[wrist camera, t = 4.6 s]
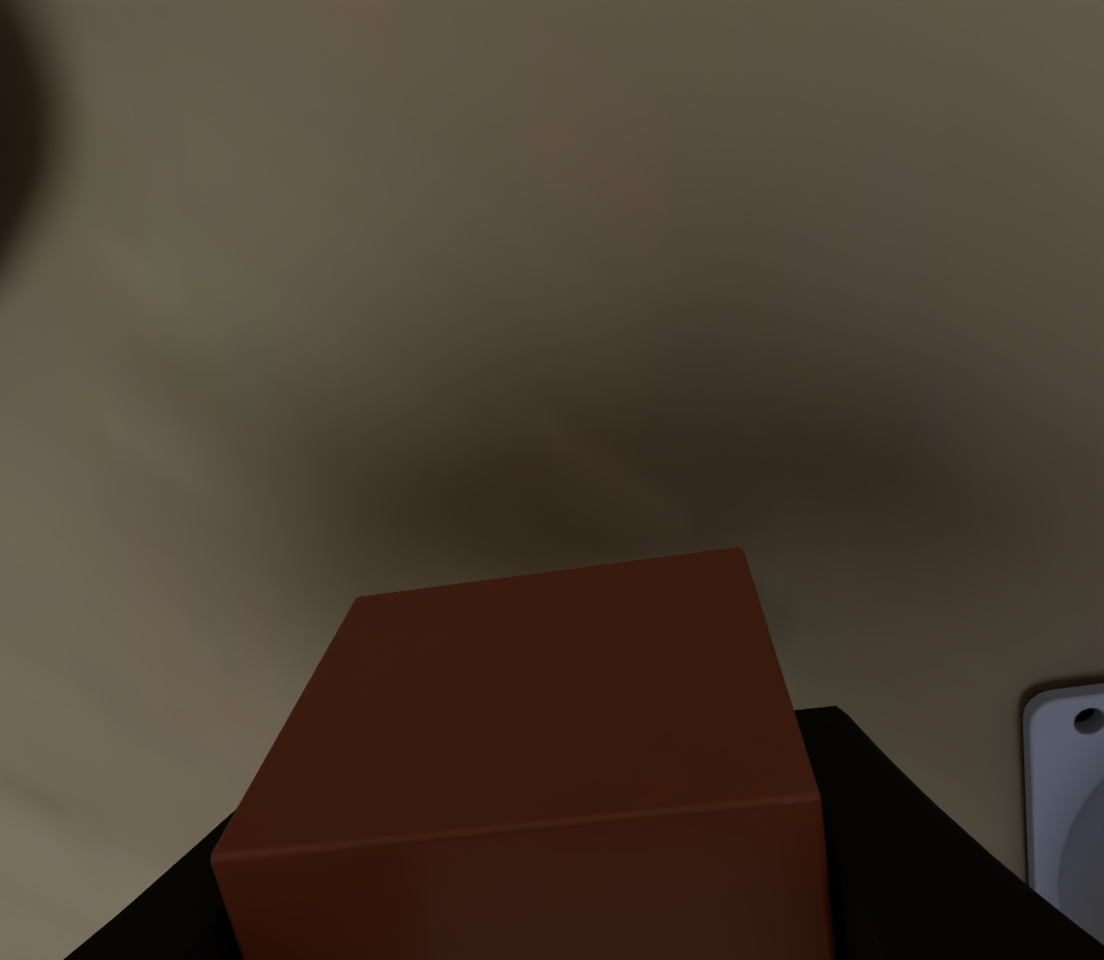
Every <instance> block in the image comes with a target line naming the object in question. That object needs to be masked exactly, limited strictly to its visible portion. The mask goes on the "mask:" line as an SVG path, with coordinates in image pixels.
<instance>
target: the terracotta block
mask: <svg viewBox="0 0 1104 960" xmlns="http://www.w3.org/2000/svg"><path fill="white" fill-rule="evenodd" d="M211 865H212V868H213V871H214V874H215V877H216V880H217V883H218V886H219V889H220V892H221V895H222V898H223V901H224V904H225V907H226V910H227V913H228V916H229V919H230V922H231V925H232V928H233V931H234V934H235V938H236V941H237V944H238V947H239V950H240V953H241V956H242V959H243V960H837V953H836V943H835V933H834V923H833V913H832V903H831V892H830V882H829V872H828V862H827V852H826V841H825V831H824V821H823V811H822V801H821V795H820V792H819V788H818V785H817V782H816V779H815V776H814V773H813V769H812V766H811V763H810V760H809V757H808V754H807V750H806V747H805V744H804V741H803V738H802V734H801V731H800V728H799V725H798V722H797V719H796V715H795V712H794V709H793V706H792V703H791V700H790V696H789V693H788V690H787V687H786V684H785V681H784V677H783V674H782V671H781V668H780V665H779V662H778V658H777V655H776V652H775V649H774V646H773V643H772V639H771V636H770V633H769V630H768V627H767V624H766V620H765V617H764V614H763V611H762V608H761V604H760V601H759V598H758V595H757V592H756V589H755V585H754V582H753V579H752V576H751V573H750V570H749V566H748V563H747V560H746V557H745V554H744V552H743V550H742V548H737V547H736V548H729V549H721V550H713V551H706V552H698V553H690V554H683V555H675V556H667V557H660V558H652V559H644V560H637V561H629V562H621V563H614V564H606V565H598V566H591V567H583V568H575V569H568V570H560V571H552V572H545V573H537V574H529V575H522V576H514V577H506V578H499V579H491V580H483V581H476V582H468V583H460V584H453V585H445V586H437V587H430V588H422V589H415V590H407V591H399V592H392V593H384V594H376V595H369V596H361V597H358V598H356V599H355V601H354V603H353V604H352V606H351V608H350V610H349V611H348V613H347V615H346V617H345V618H344V620H343V622H342V624H341V626H340V627H339V629H338V631H337V633H336V634H335V636H334V638H333V640H332V641H331V643H330V645H329V647H328V648H327V650H326V652H325V654H324V656H323V657H322V659H321V661H320V663H319V664H318V666H317V668H316V670H315V671H314V673H313V675H312V677H311V679H310V680H309V682H308V684H307V686H306V687H305V689H304V691H303V693H302V694H301V696H300V698H299V700H298V701H297V703H296V705H295V707H294V709H293V710H292V712H291V714H290V716H289V717H288V719H287V721H286V723H285V724H284V726H283V728H282V730H281V731H280V733H279V735H278V737H277V739H276V740H275V742H274V744H273V746H272V747H271V749H270V751H269V753H268V754H267V756H266V758H265V760H264V762H263V763H262V765H261V767H260V769H259V770H258V772H257V774H256V776H255V777H254V779H253V781H252V783H251V784H250V786H249V788H248V790H247V792H246V793H245V795H244V797H243V799H242V800H241V802H240V804H239V806H238V807H237V809H236V811H235V813H234V815H233V816H232V818H231V820H230V822H229V823H228V825H227V827H226V829H225V830H224V832H223V834H222V836H221V837H220V839H219V841H218V843H217V845H216V846H215V848H214V850H213V852H212V854H211Z"/></svg>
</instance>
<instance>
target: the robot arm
mask: <svg viewBox="0 0 1104 960" xmlns="http://www.w3.org/2000/svg"><path fill="white" fill-rule="evenodd" d="M1088 708H1094V709H1095V710H1094V713H1093V715H1092V716H1091V717H1089V718H1088V719H1087V720H1084V721H1081V722H1075V721H1074V720H1075V717H1076V716H1077V715H1078V714H1079V713H1080V712H1081V711H1083V710H1085V709H1088ZM794 712H795V715H796V719H797V722H798V725H799V728H800V731H801V734H802V738H803V741H804V744H805V747H806V750H807V754H808V757H809V760H810V763H811V766H812V769H813V773H814V776H815V779H816V782H817V785H818V788H819V792H820V795H821V801H822V811H823V821H824V831H825V841H826V852H827V862H828V872H829V882H830V892H831V903H832V913H833V923H834V933H835V943H836V953H837V960H1104V683H1102V684H1094V685H1085V686H1077V687H1069V688H1061V689H1053V690H1048V691H1045V692H1042V693H1039V694H1038V695H1036V696H1035V697H1033V698H1032V699H1031V700H1030V701H1029V702H1028V704H1027V705H1026V707H1025V708H1024V713H1023V739H1024V766H1025V793H1026V820H1027V847H1028V874H1029V886H1028V885H1027V884H1026V883H1024V882H1023V881H1022V880H1021V879H1020V878H1018V877H1017V876H1016V875H1015V874H1014V873H1013V872H1011V871H1010V870H1009V869H1008V868H1007V867H1005V866H1004V865H1003V864H1002V863H1001V862H1000V861H998V860H997V859H996V858H995V857H994V856H992V855H991V854H990V853H989V852H988V851H987V850H986V849H985V848H984V847H982V846H981V845H980V844H979V843H978V842H977V841H976V840H975V839H974V838H972V837H971V836H970V835H969V834H968V833H967V832H966V831H965V830H964V829H962V828H961V827H960V826H959V825H958V824H957V823H956V822H955V821H953V820H952V819H951V818H950V817H949V816H948V815H947V814H946V813H945V812H943V811H942V810H941V809H940V808H939V807H938V806H937V805H936V804H935V803H934V802H933V801H932V800H931V799H930V798H929V797H927V796H926V795H925V794H924V793H923V792H922V791H921V790H920V789H919V788H918V787H917V786H916V785H915V784H914V783H913V782H912V781H911V780H910V779H909V778H908V777H907V776H906V775H905V774H904V773H903V772H902V771H901V770H900V769H899V768H898V767H897V766H896V765H895V764H894V763H893V762H892V761H891V760H890V759H889V758H888V757H887V756H886V755H885V754H884V753H883V752H882V751H881V750H880V749H879V748H878V747H877V746H876V745H875V744H874V742H873V741H872V740H871V739H870V738H869V737H868V736H867V735H866V734H865V733H864V732H863V731H862V730H861V729H860V727H859V726H858V725H857V724H856V723H855V722H854V721H853V720H852V719H851V718H850V716H848V715H847V714H846V713H845V712H843V711H842V710H841V709H839V708H838V707H837V706H829V707H820V708H811V709H803V710H794ZM235 811H236V810H235ZM235 811H234V812H233V813H231V814H230V815H229V816H228V817H227V818H226V819H225V820H224V821H222V822H221V823H220V824H219V825H218V826H217V827H216V828H215V829H214V830H212V831H211V832H210V833H209V834H208V835H207V836H206V837H205V838H204V839H202V840H201V841H200V842H199V843H198V844H197V845H196V846H195V847H194V848H192V849H191V850H190V851H189V852H188V853H187V854H186V855H185V856H183V857H182V858H181V859H180V860H179V861H178V862H177V863H176V864H174V865H173V866H172V867H171V868H170V869H169V870H168V871H167V872H165V873H164V874H163V875H162V876H161V877H160V878H159V879H158V880H156V881H155V882H154V883H153V884H152V885H151V886H150V887H149V888H147V889H146V890H145V891H144V892H143V893H142V894H141V895H140V896H138V897H137V898H136V899H135V900H134V901H133V902H132V903H131V904H129V905H128V906H127V907H126V908H125V909H124V910H123V911H121V912H120V913H119V914H118V915H117V916H116V917H114V918H113V919H112V920H111V921H110V922H108V923H107V924H106V925H105V926H104V927H102V928H101V929H100V930H99V931H97V932H96V933H95V934H94V935H93V936H91V937H90V938H89V939H88V940H87V941H85V942H84V943H83V944H82V945H81V946H79V947H78V948H77V949H76V950H75V951H73V952H72V953H71V954H70V955H68V956H67V957H66V958H65V959H64V960H243V959H242V956H241V953H240V950H239V947H238V944H237V941H236V938H235V934H234V931H233V928H232V925H231V922H230V919H229V916H228V913H227V910H226V907H225V904H224V901H223V898H222V895H221V892H220V889H219V886H218V883H217V880H216V877H215V874H214V871H213V868H212V865H211V854H212V852H213V850H214V848H215V846H216V845H217V843H218V841H219V839H220V837H221V836H222V834H223V832H224V830H225V829H226V827H227V825H228V823H229V822H230V820H231V818H232V816H233V815H234V813H235Z"/></svg>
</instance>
